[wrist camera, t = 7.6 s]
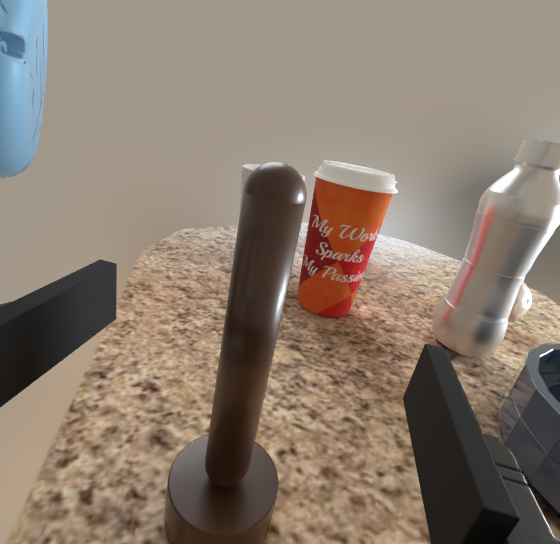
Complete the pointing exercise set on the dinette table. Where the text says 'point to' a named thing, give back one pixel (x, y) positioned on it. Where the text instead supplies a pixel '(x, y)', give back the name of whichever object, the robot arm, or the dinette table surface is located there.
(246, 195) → the wooden stamp handle
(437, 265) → the dinette table surface
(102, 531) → the dinette table surface
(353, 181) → the coffee cup
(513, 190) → the silver water bottle
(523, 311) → the garlic bulb
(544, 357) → the bowl
